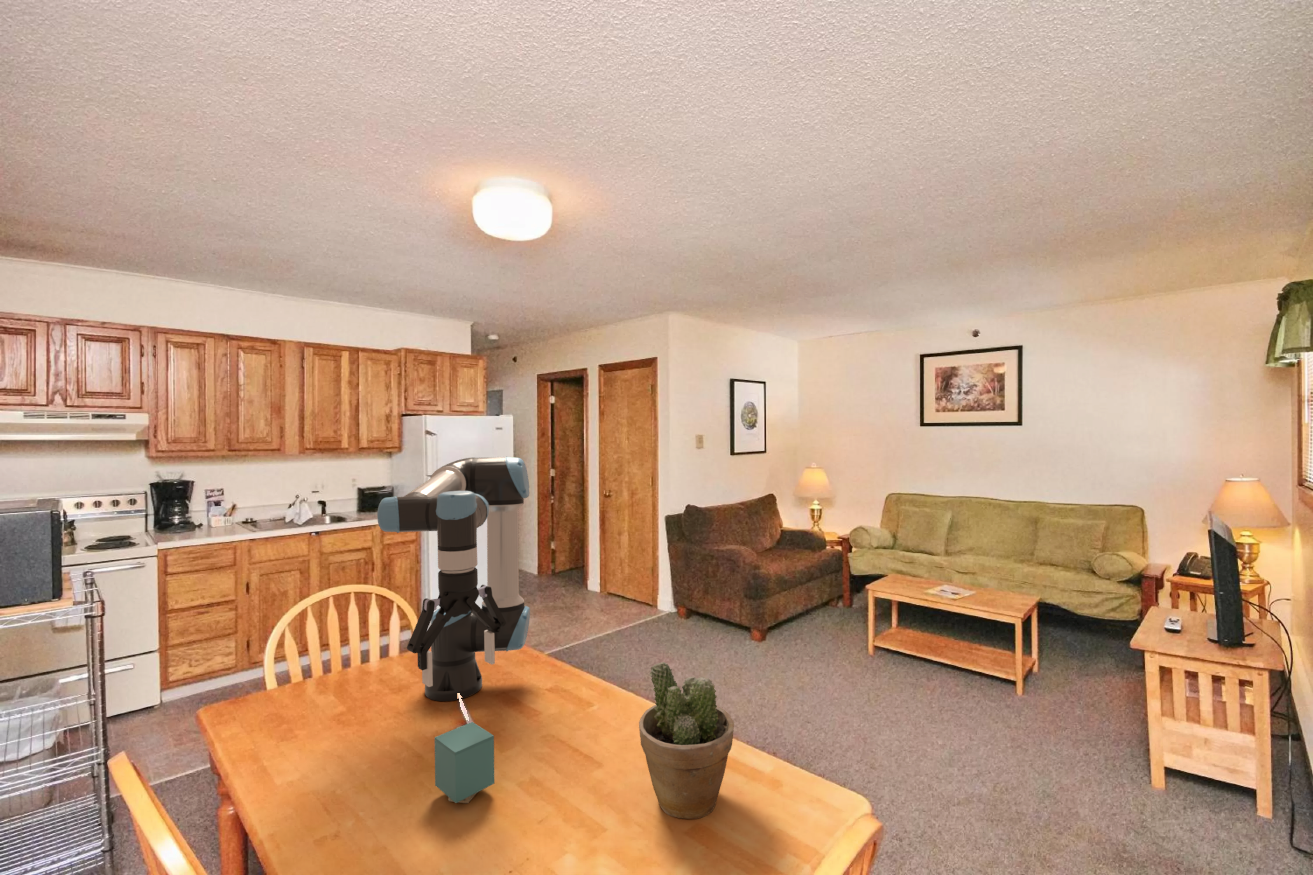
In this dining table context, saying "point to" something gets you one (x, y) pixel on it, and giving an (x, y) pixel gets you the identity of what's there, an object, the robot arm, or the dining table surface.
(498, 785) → the dining table surface
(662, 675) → the potted plant
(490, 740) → the teal block
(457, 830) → the dining table surface
